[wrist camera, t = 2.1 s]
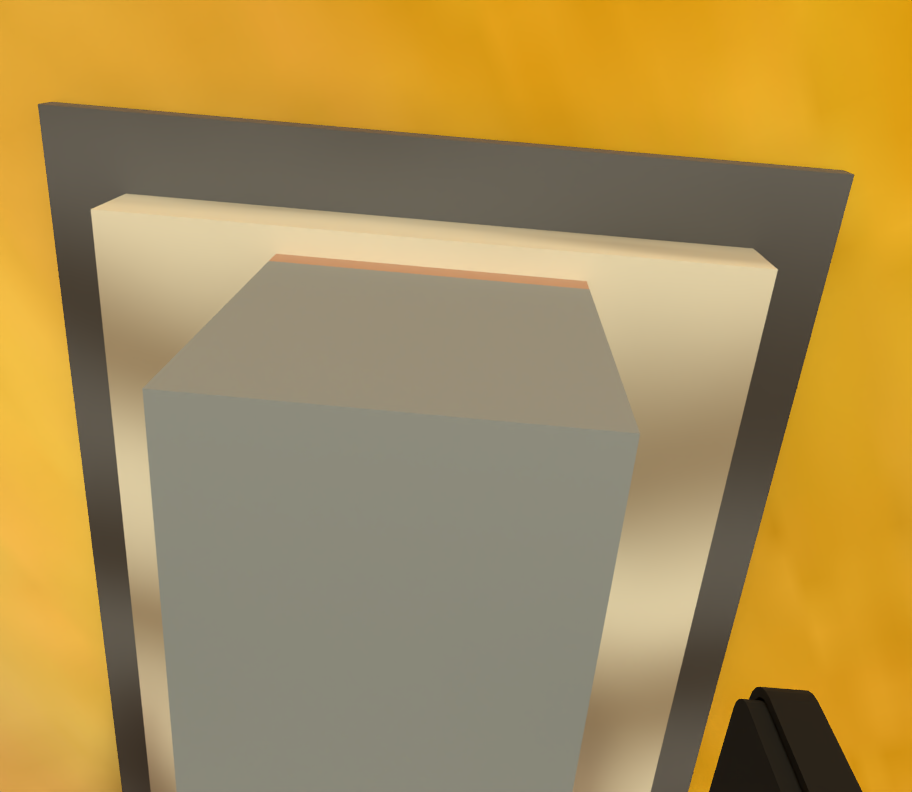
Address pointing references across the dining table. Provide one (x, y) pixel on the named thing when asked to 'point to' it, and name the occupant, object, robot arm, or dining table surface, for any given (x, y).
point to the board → (454, 189)
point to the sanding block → (387, 529)
